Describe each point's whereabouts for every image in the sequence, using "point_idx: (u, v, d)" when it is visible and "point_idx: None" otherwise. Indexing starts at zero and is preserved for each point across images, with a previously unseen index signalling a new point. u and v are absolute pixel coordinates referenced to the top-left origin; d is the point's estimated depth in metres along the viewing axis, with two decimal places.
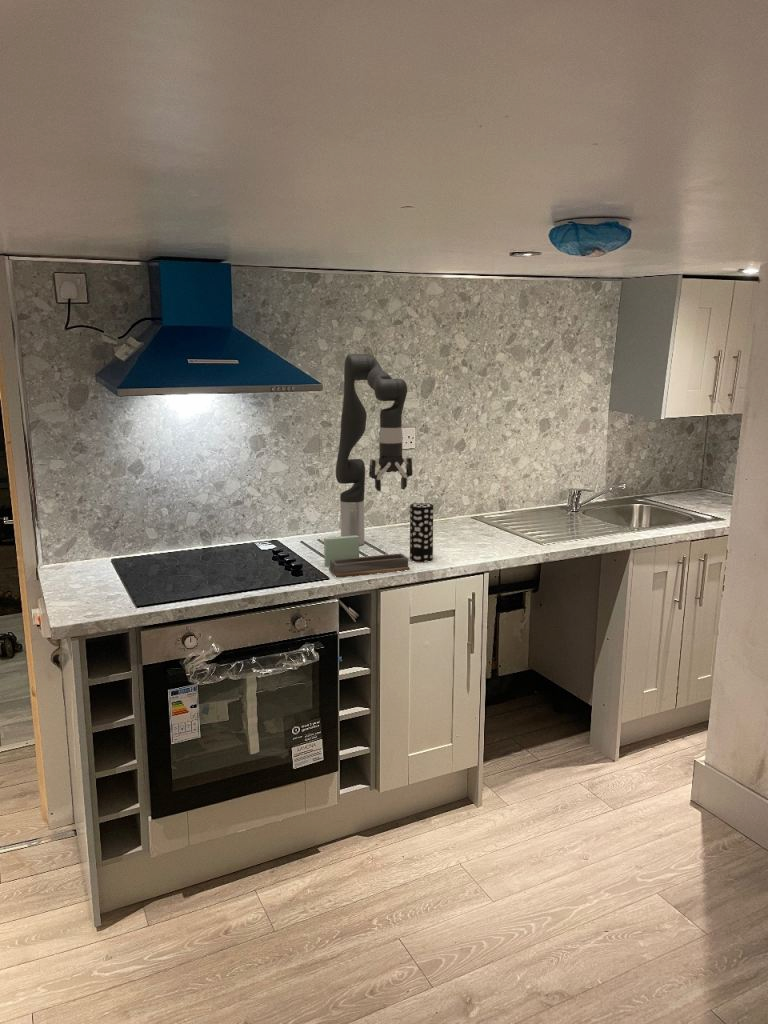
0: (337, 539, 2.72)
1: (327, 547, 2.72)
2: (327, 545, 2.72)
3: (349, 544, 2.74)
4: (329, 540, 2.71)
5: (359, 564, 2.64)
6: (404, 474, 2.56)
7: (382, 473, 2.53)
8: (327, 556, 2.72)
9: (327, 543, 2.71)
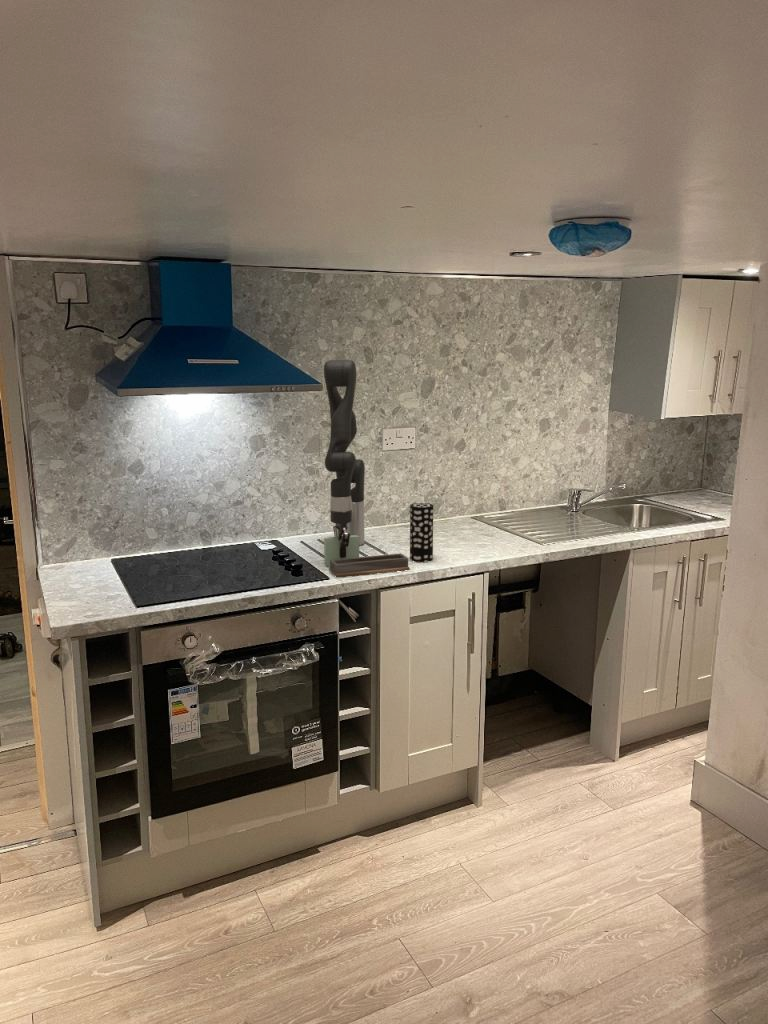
0: (337, 539, 2.72)
1: (327, 547, 2.72)
2: (327, 545, 2.72)
3: (349, 543, 2.74)
4: (329, 540, 2.71)
5: (359, 564, 2.64)
6: None
7: None
8: (327, 556, 2.72)
9: (327, 543, 2.71)
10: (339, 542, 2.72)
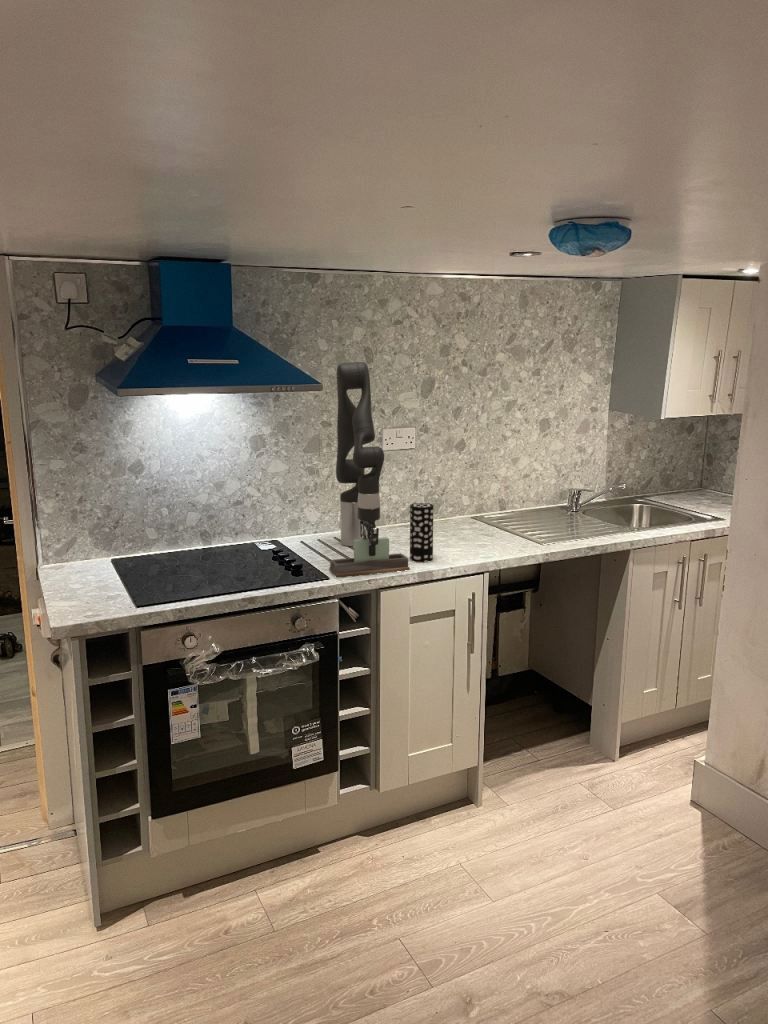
0: (367, 541, 2.65)
1: (357, 549, 2.65)
2: (357, 547, 2.64)
3: (379, 546, 2.67)
4: (359, 542, 2.64)
5: (359, 564, 2.64)
6: None
7: (376, 537, 2.64)
8: (357, 558, 2.65)
9: (357, 545, 2.64)
10: (368, 540, 2.63)
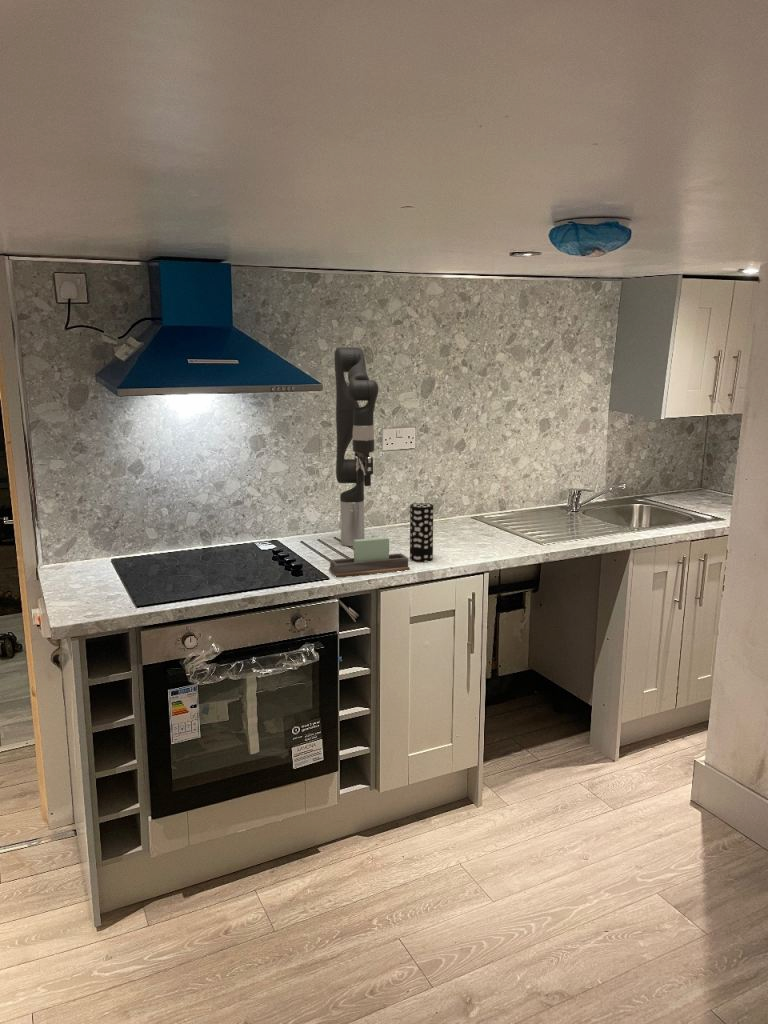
0: (367, 541, 2.65)
1: (357, 549, 2.65)
2: (357, 547, 2.64)
3: (379, 546, 2.67)
4: (359, 542, 2.64)
5: (359, 564, 2.64)
6: None
7: (370, 468, 2.71)
8: (357, 558, 2.65)
9: (357, 545, 2.64)
10: (363, 471, 2.70)
